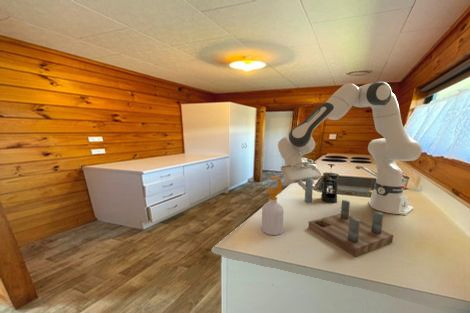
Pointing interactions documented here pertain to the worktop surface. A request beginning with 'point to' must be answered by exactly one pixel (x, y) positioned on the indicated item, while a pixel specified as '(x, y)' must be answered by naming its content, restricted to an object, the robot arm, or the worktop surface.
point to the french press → (329, 194)
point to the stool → (352, 231)
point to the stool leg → (309, 190)
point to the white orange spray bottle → (273, 212)
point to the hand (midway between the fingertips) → (309, 188)
